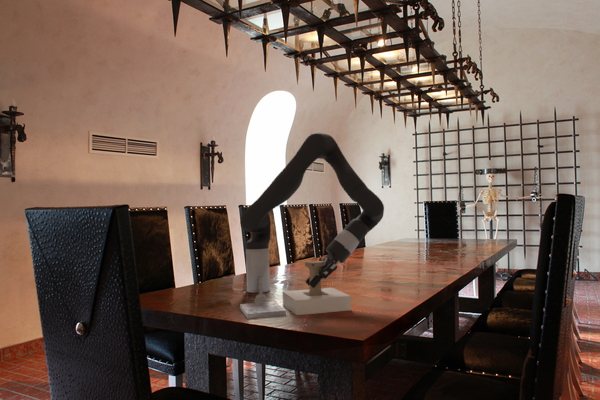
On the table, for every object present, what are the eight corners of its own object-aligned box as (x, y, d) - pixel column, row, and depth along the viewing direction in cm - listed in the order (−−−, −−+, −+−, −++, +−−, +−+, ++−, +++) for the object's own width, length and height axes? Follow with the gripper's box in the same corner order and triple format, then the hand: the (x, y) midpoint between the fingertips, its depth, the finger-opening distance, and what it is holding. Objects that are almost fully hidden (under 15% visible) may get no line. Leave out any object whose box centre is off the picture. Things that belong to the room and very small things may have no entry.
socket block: (283, 304, 165) (282, 291, 165) (332, 300, 170) (332, 287, 170) (296, 315, 148) (295, 300, 148) (351, 310, 152) (350, 296, 152)
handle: (324, 308, 156) (322, 262, 156) (304, 308, 157) (303, 262, 157) (326, 305, 160) (325, 260, 161) (307, 305, 162) (306, 261, 162)
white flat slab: (240, 308, 160) (239, 304, 160) (275, 305, 163) (275, 301, 163) (247, 318, 145) (247, 313, 145) (286, 315, 148) (286, 310, 148)
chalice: (273, 299, 174) (272, 250, 175) (267, 303, 168) (266, 251, 168) (254, 299, 176) (253, 250, 177) (248, 303, 170) (246, 252, 170)
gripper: (328, 237, 168) (295, 274, 164) (342, 239, 154) (307, 280, 151) (343, 252, 169) (311, 289, 166) (358, 255, 156) (323, 296, 152)
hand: (309, 284), depth 158 cm, fingers closed on handle, 3 cm apart
